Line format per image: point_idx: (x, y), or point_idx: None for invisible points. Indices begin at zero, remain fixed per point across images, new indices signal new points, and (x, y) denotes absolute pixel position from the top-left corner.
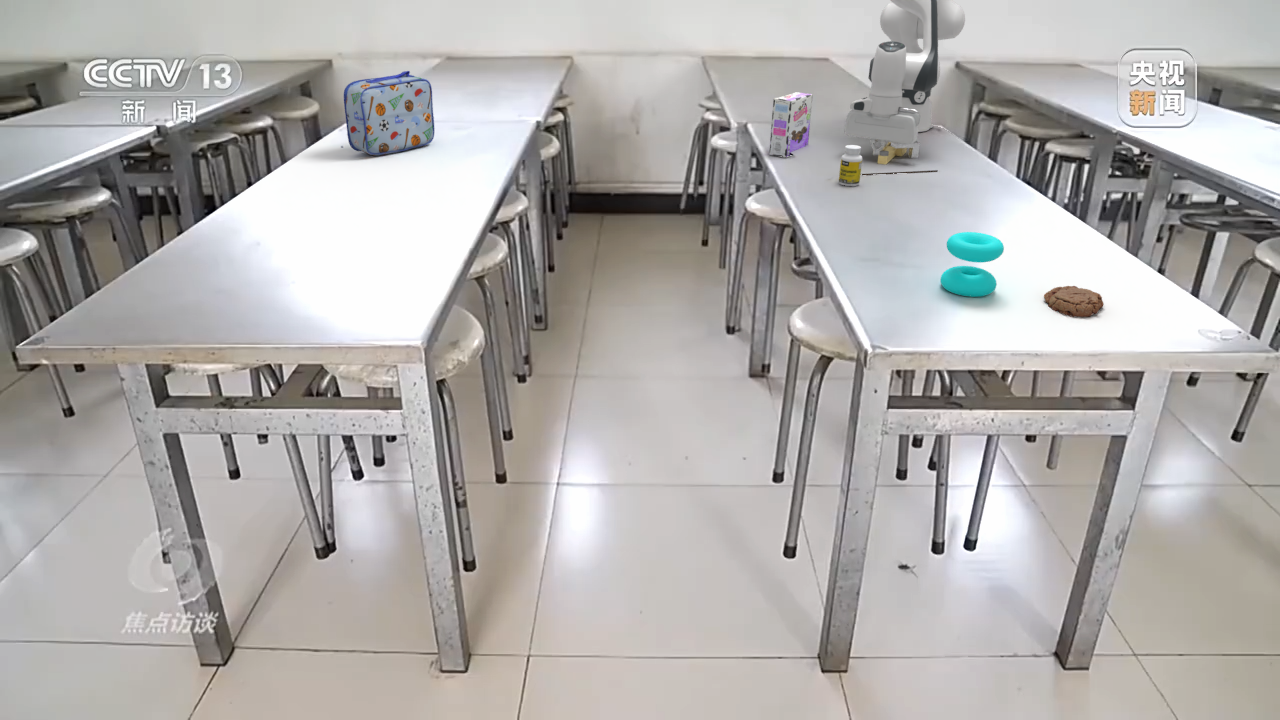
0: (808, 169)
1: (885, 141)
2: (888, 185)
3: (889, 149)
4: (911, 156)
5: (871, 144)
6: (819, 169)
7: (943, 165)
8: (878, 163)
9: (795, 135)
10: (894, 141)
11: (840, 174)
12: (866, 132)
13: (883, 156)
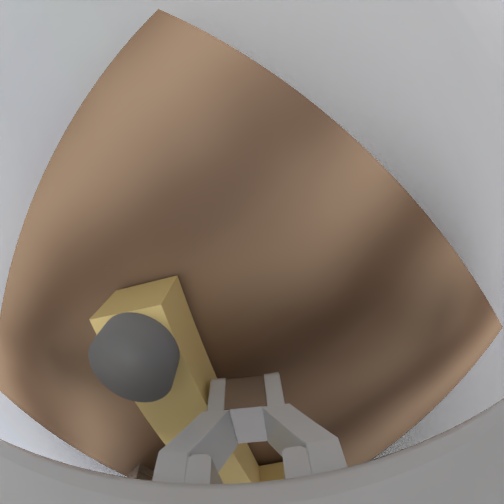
0: (458, 6)
1: (152, 479)
2: (10, 19)
3: (222, 476)
4: (138, 471)
5: (314, 428)
6: (436, 20)
7: (64, 454)
8: (169, 277)
9: None
10: (42, 460)
11: None
12: (433, 498)
13: (117, 312)
